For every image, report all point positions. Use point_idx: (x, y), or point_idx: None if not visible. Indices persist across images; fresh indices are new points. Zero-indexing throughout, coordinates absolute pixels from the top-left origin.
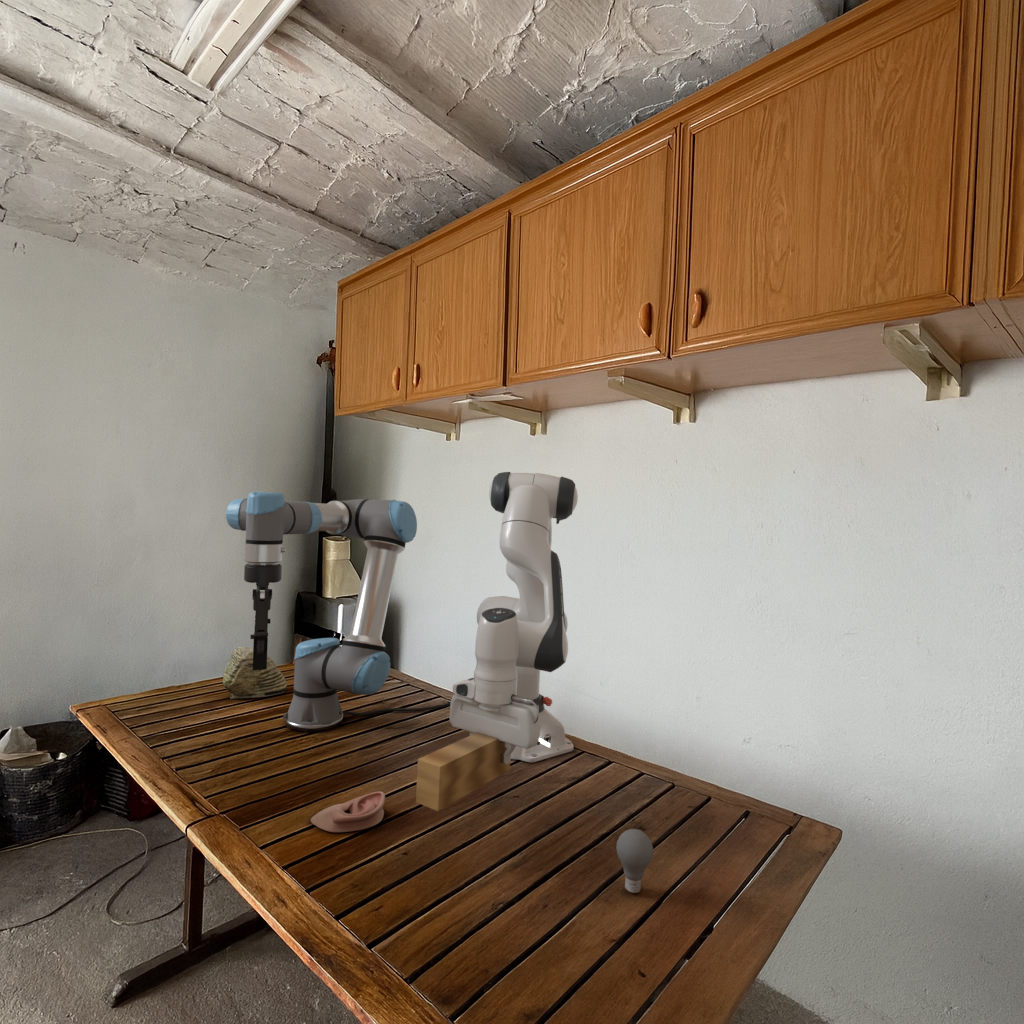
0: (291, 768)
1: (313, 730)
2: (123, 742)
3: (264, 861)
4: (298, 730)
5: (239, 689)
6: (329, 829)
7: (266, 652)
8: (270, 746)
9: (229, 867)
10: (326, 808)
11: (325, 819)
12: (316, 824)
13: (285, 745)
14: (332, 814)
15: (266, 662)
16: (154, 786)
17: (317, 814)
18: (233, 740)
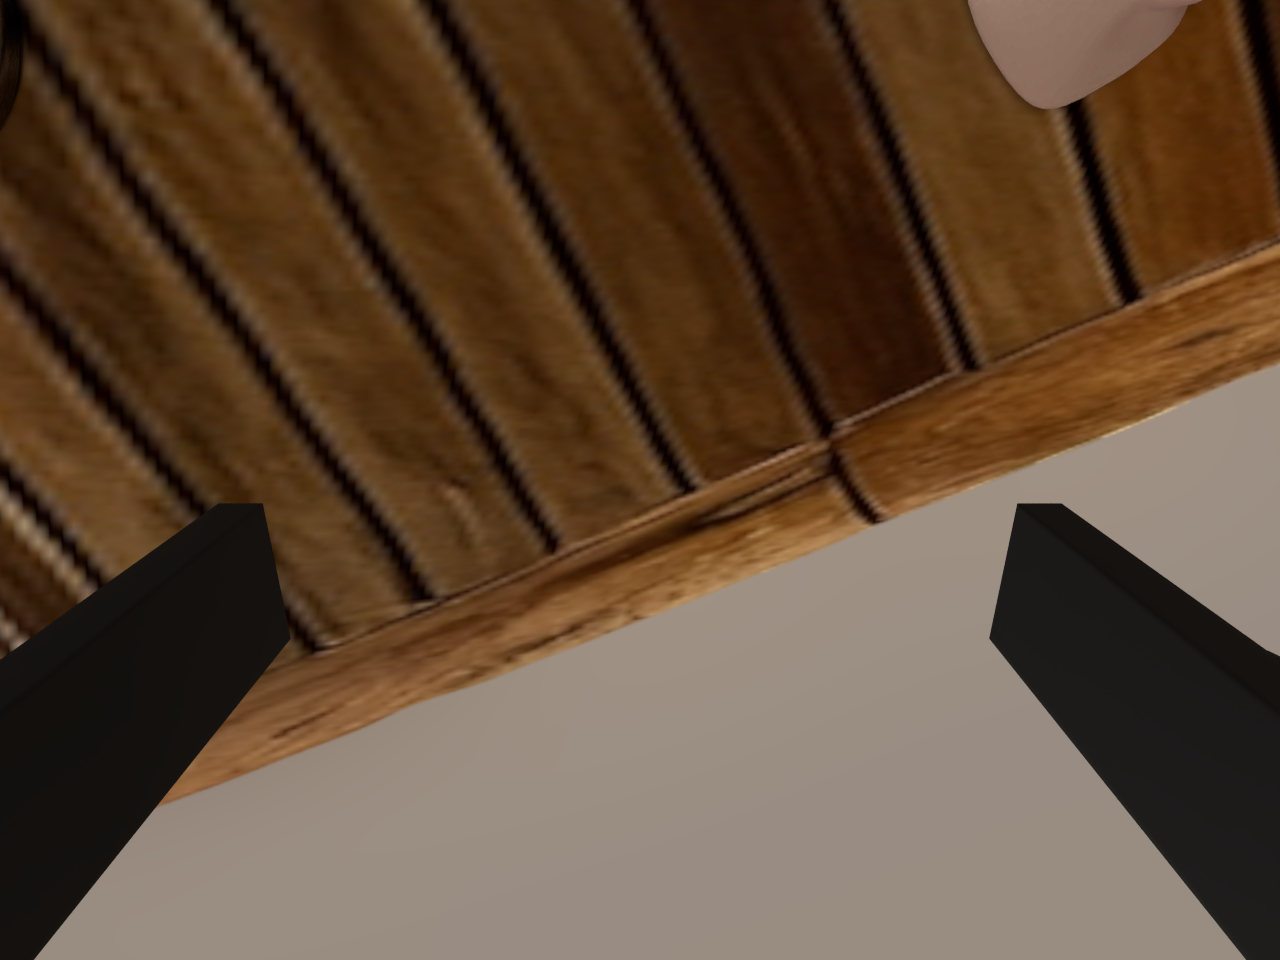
0: (495, 167)
1: (8, 15)
2: None
3: (1223, 288)
4: (8, 108)
5: None
6: (1169, 32)
7: (1217, 626)
8: (217, 261)
9: (1196, 392)
10: (1018, 28)
11: (1119, 42)
12: (1098, 86)
13: (207, 187)
14: (1170, 5)
15: (1112, 545)
16: (554, 644)
17: (1050, 75)
18: (136, 425)
